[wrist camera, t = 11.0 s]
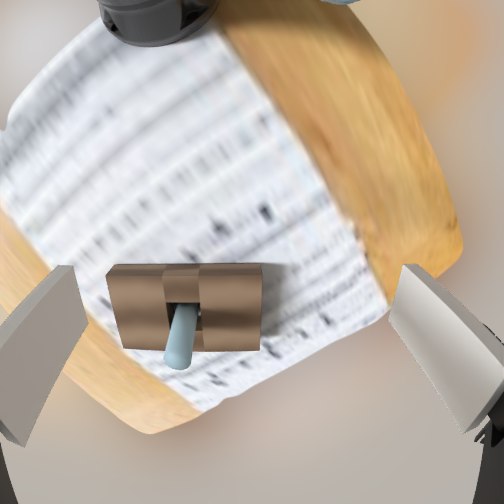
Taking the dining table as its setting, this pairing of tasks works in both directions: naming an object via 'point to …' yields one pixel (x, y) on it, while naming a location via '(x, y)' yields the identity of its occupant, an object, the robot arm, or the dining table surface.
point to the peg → (182, 336)
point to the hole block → (188, 290)
